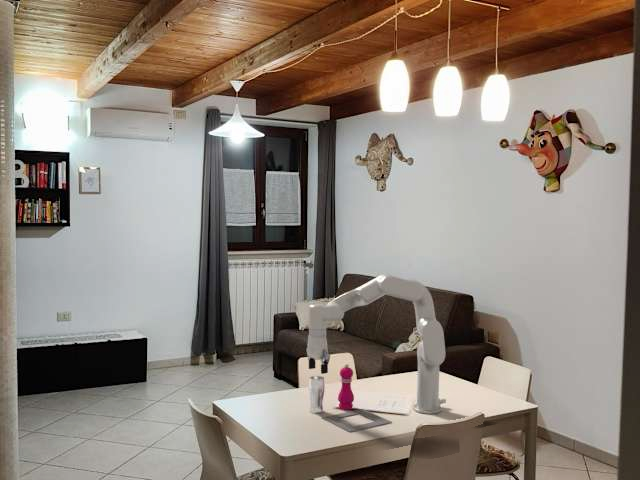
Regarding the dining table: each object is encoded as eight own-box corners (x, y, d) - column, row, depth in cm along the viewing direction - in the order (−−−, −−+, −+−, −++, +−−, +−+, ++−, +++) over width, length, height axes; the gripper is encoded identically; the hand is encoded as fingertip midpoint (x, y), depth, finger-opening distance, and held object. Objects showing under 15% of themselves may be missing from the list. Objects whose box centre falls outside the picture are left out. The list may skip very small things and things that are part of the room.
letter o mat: (362, 409, 286) (362, 408, 286) (391, 422, 270) (391, 421, 270) (321, 418, 274) (321, 417, 274) (349, 432, 258) (349, 431, 258)
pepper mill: (352, 411, 284) (353, 366, 283) (336, 409, 286) (337, 365, 285) (354, 406, 291) (355, 362, 290) (339, 404, 293) (340, 361, 292)
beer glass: (327, 410, 285) (327, 377, 284) (319, 414, 279) (319, 380, 278) (314, 407, 288) (314, 374, 287) (305, 411, 282) (306, 378, 281)
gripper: (299, 330, 287) (300, 368, 288) (321, 336, 272) (322, 376, 273) (314, 328, 291) (314, 365, 292) (336, 334, 276) (336, 373, 277)
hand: (318, 370), depth 282 cm, fingers open, 9 cm apart
